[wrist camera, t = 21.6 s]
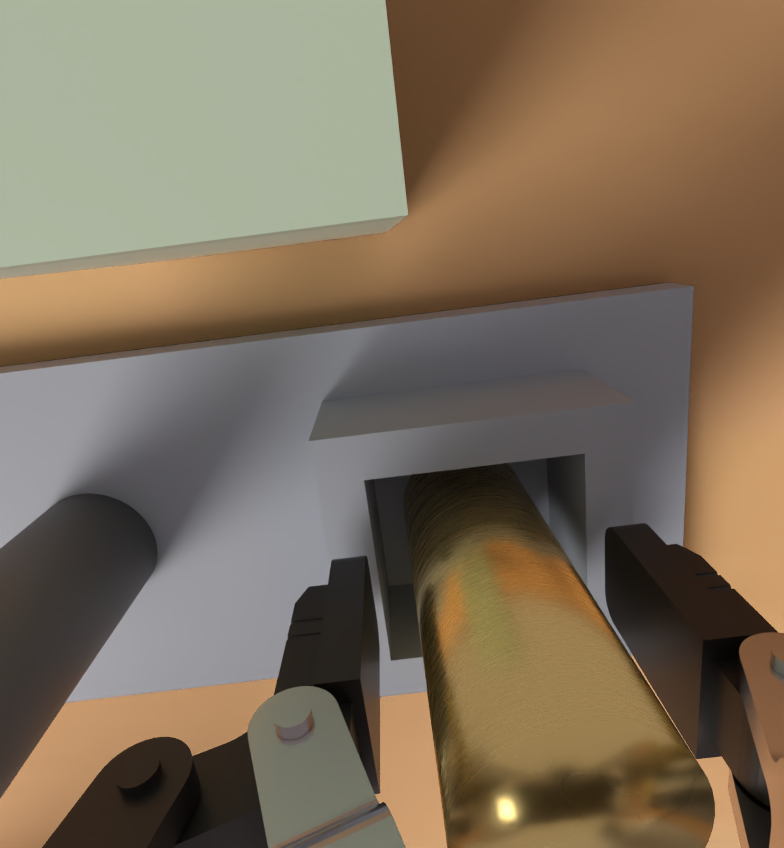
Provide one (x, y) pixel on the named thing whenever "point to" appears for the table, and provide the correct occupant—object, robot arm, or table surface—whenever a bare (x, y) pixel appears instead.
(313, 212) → the block
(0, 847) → the table surface
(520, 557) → the brass pin
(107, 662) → the board
